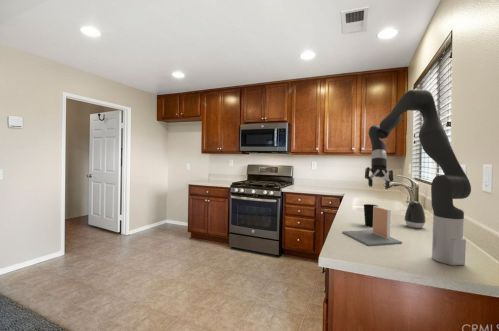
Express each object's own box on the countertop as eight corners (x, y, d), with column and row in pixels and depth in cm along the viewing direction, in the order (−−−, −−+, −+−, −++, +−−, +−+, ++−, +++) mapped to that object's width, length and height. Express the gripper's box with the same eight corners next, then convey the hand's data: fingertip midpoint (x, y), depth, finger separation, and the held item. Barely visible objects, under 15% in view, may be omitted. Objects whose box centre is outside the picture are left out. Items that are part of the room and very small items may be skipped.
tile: (389, 238, 121) (390, 209, 121) (387, 238, 121) (387, 209, 120) (374, 232, 131) (375, 205, 130) (372, 232, 130) (373, 205, 130)
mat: (402, 243, 117) (402, 241, 117) (368, 246, 113) (368, 244, 113) (372, 231, 136) (372, 229, 136) (342, 232, 132) (342, 231, 132)
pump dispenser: (400, 225, 149) (400, 200, 148) (411, 224, 153) (412, 199, 153) (417, 230, 139) (418, 203, 139) (429, 228, 144) (430, 201, 143)
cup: (362, 226, 146) (363, 205, 146) (363, 223, 153) (364, 203, 152) (377, 228, 142) (378, 207, 142) (377, 225, 149) (378, 205, 149)
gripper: (369, 155, 137) (368, 184, 132) (395, 158, 136) (396, 188, 131) (363, 159, 144) (362, 187, 139) (388, 162, 143) (388, 190, 139)
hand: (378, 187), depth 135 cm, fingers open, 8 cm apart
